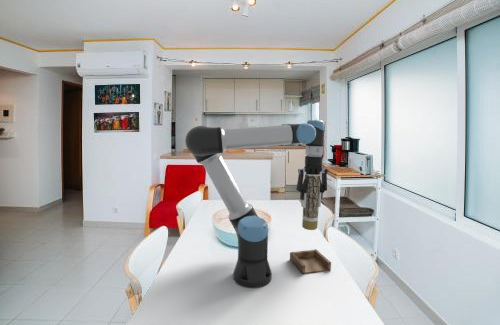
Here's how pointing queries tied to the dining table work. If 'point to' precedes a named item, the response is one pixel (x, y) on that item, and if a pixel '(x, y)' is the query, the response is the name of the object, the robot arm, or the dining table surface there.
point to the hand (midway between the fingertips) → (310, 206)
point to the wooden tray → (310, 261)
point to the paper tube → (311, 202)
